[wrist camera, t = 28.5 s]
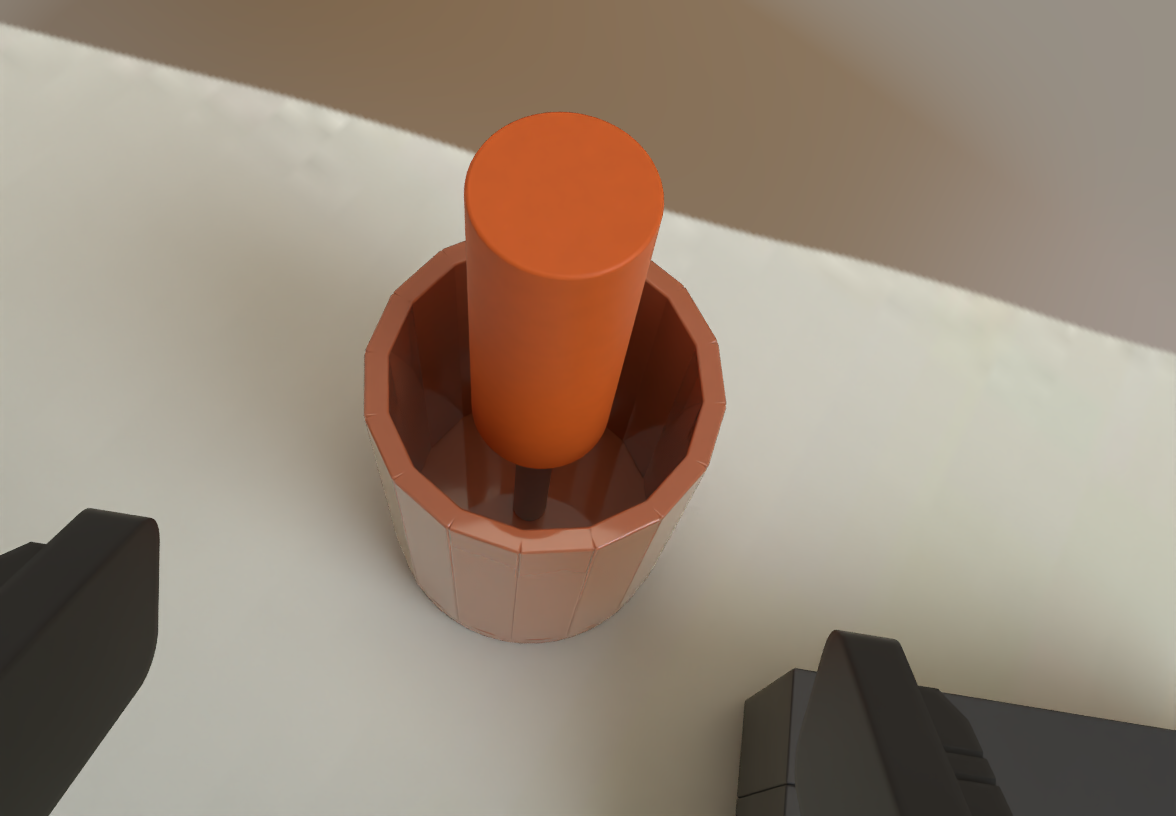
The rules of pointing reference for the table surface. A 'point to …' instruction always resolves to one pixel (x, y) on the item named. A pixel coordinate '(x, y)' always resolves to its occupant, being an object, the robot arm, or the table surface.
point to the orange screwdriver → (553, 286)
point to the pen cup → (576, 491)
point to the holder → (985, 756)
